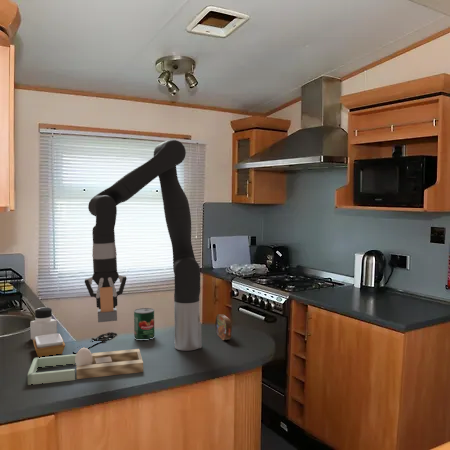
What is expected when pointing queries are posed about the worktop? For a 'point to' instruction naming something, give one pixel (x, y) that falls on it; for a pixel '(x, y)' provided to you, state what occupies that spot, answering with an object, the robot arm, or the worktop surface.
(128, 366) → the shallow wooden box
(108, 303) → the tan block grey base
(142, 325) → the canned tomato
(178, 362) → the worktop surface
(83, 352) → the egg
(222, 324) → the tin
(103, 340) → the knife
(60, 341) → the soap dish
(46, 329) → the medicine bottle
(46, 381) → the tray
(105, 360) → the chip block
